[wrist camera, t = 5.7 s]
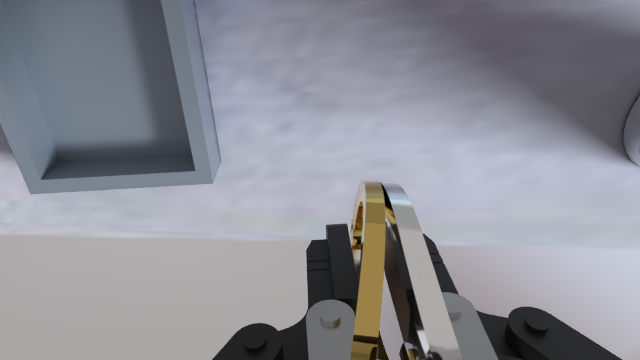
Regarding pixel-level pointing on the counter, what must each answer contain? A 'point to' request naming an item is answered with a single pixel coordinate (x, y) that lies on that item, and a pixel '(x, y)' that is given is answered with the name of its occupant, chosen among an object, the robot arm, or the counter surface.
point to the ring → (414, 269)
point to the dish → (106, 94)
